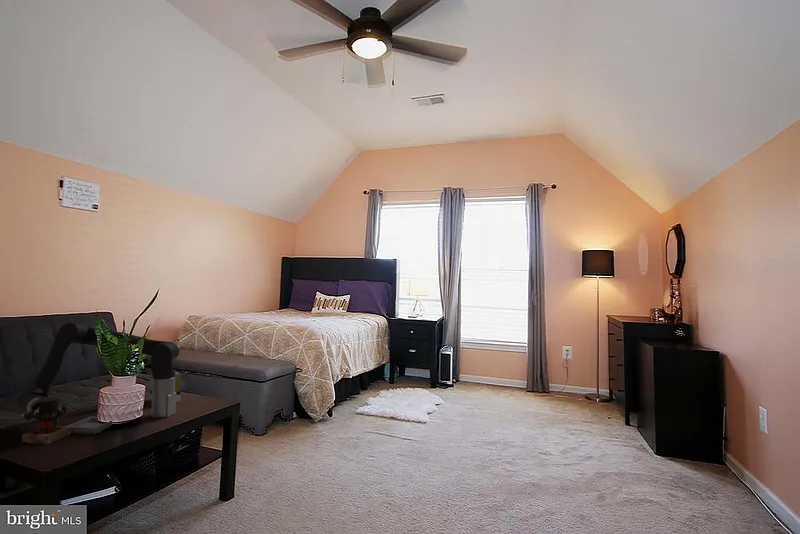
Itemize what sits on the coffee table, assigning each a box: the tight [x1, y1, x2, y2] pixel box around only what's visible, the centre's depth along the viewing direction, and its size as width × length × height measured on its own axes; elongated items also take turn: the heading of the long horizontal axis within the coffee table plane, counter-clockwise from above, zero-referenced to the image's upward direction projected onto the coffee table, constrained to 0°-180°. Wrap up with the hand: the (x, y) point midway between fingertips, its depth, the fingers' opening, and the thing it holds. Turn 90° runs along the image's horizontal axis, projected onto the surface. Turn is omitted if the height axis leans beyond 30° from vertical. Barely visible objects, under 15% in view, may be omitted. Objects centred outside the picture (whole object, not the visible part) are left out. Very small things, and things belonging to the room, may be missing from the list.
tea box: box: [148, 371, 182, 403], centre depth 218 cm, size 15×10×15 cm, turn 50°
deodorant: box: [37, 396, 60, 434], centre depth 164 cm, size 6×6×15 cm
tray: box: [67, 416, 112, 435], centre depth 176 cm, size 13×13×2 cm
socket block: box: [21, 425, 72, 445], centre depth 164 cm, size 10×10×3 cm
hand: (50, 416), depth 163 cm, fingers closed on deodorant, 6 cm apart
